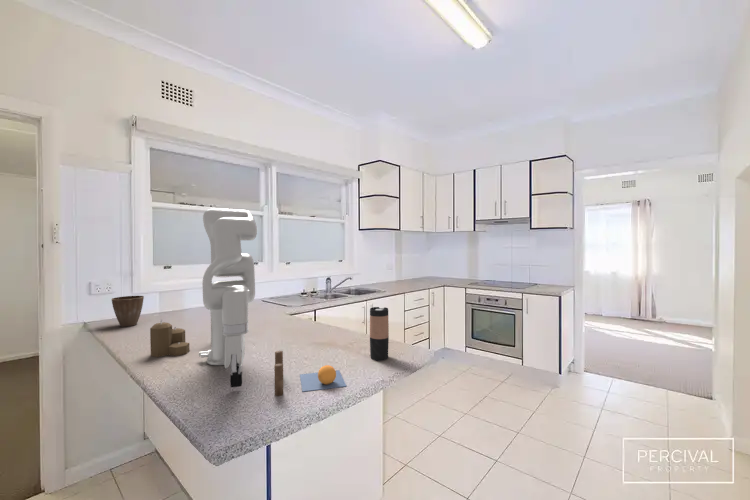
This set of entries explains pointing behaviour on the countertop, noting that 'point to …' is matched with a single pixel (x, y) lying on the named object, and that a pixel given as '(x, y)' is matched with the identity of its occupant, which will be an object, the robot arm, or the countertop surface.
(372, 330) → the travel mug
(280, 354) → the post
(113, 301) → the plant pot
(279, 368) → the post
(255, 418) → the countertop surface
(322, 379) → the ball
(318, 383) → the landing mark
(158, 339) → the candle
